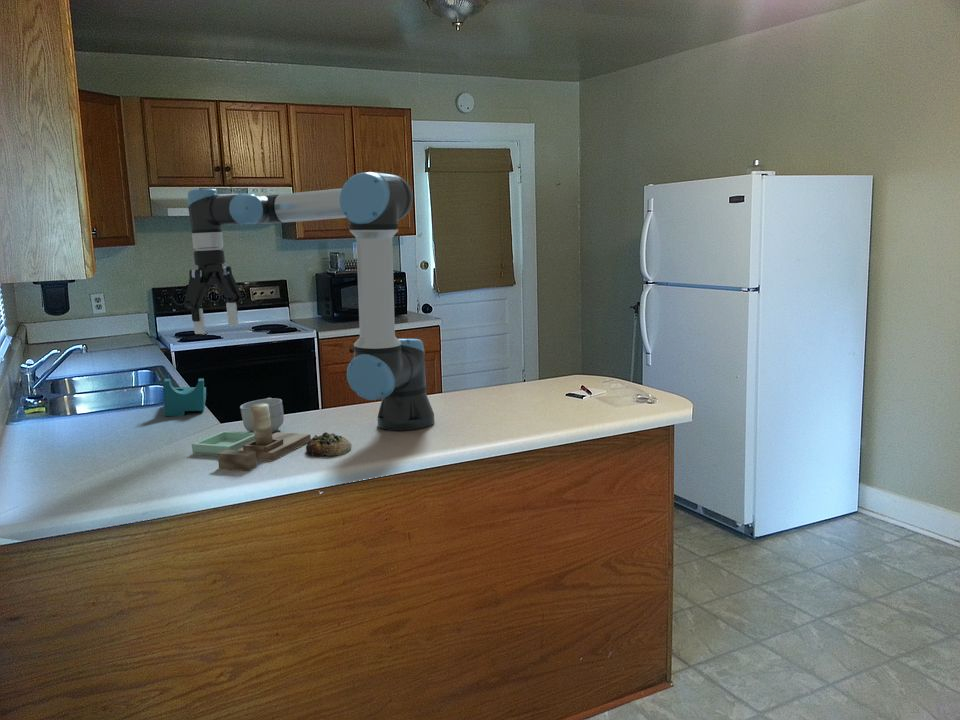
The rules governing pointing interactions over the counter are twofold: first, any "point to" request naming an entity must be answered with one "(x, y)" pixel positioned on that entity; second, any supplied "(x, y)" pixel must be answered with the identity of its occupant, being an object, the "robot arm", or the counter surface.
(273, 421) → the teacup
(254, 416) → the dowel
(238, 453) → the block
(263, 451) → the brown slotted slab
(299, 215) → the robot arm
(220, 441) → the tray
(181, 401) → the teal notched cradle
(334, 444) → the bread roll
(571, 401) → the counter surface
